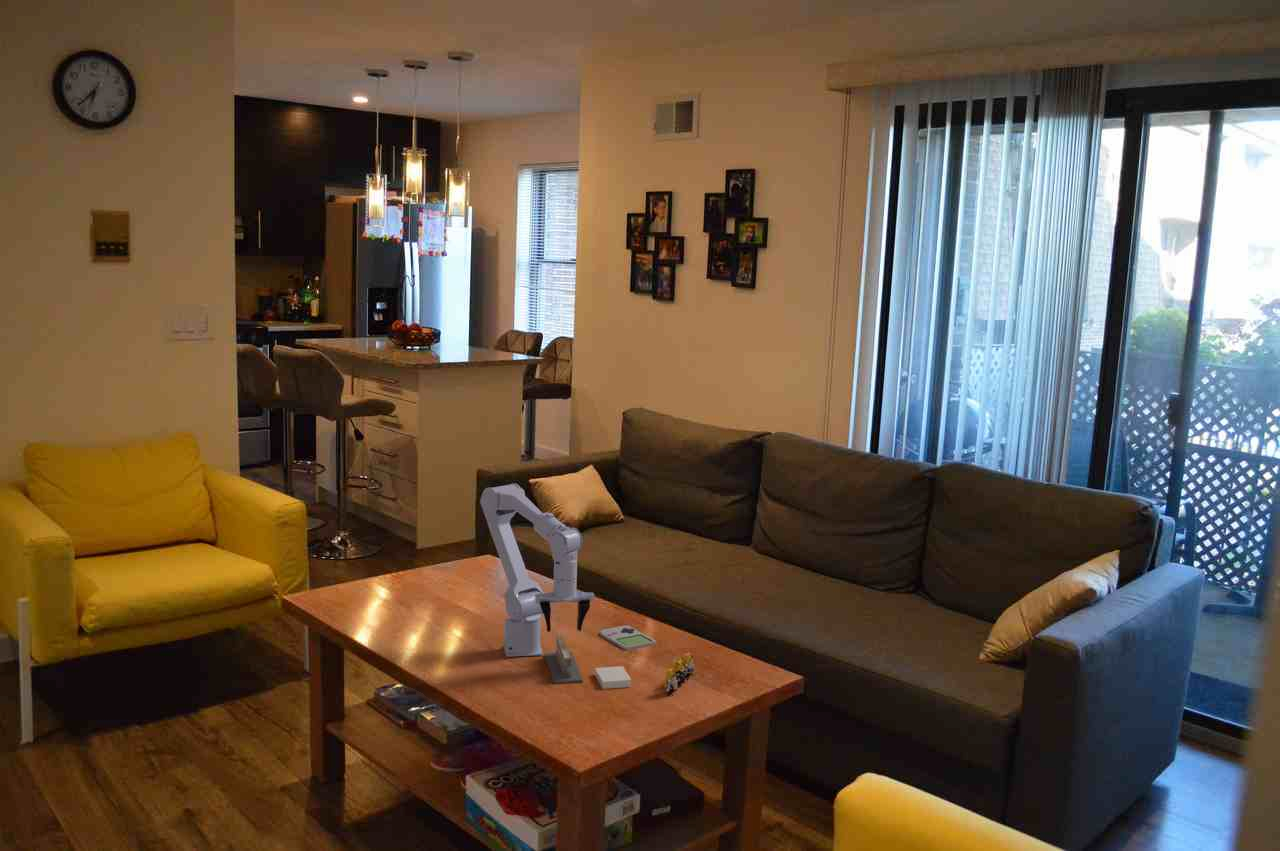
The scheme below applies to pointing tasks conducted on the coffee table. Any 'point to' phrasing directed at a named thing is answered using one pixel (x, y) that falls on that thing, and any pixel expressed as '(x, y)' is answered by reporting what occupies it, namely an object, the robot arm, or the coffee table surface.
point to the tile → (613, 677)
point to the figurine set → (678, 673)
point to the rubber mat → (557, 671)
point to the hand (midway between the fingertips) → (563, 629)
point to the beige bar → (563, 656)
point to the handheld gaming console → (627, 637)
